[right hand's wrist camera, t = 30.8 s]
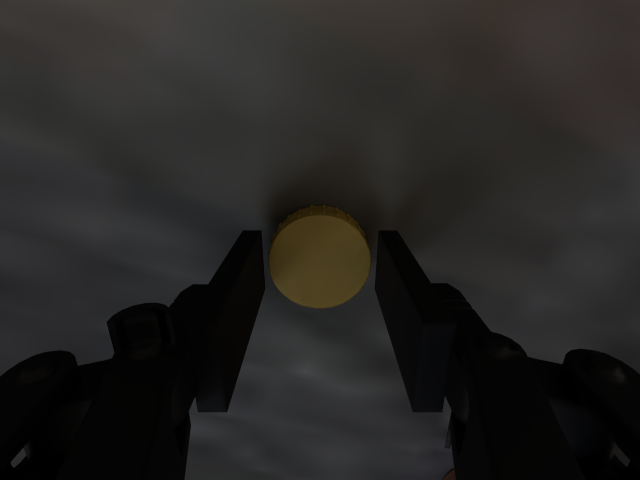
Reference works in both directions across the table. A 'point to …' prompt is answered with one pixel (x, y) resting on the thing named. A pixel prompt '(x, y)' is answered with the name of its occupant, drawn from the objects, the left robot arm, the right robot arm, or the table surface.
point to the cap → (319, 257)
